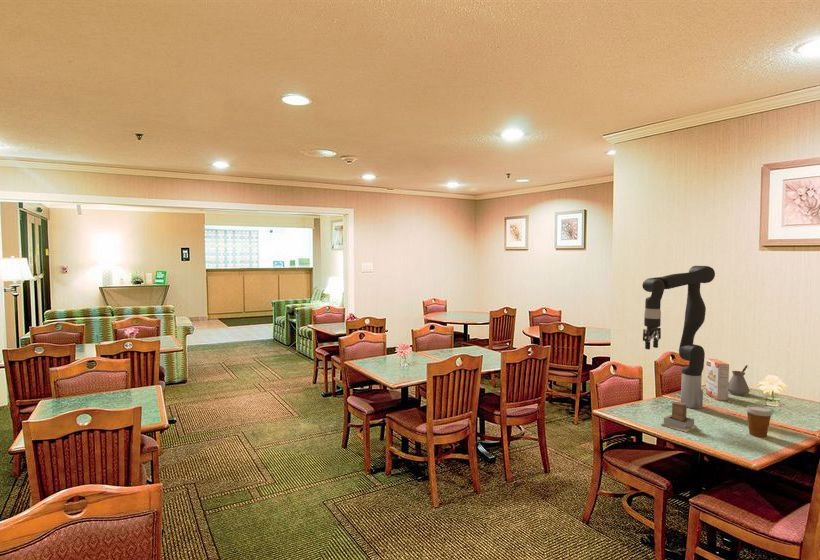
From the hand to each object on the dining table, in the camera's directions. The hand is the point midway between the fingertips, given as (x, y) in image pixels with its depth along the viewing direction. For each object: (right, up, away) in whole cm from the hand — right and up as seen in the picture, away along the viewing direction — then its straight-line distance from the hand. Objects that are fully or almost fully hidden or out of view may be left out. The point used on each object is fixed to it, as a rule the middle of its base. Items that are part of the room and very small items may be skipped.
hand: (651, 348), depth 247 cm
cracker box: (+50, -32, +25) cm, 64 cm away
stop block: (+1, -32, -24) cm, 40 cm away
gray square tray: (+1, -33, -24) cm, 41 cm away
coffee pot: (+71, -32, +36) cm, 86 cm away
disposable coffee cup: (+30, -34, -34) cm, 57 cm away
